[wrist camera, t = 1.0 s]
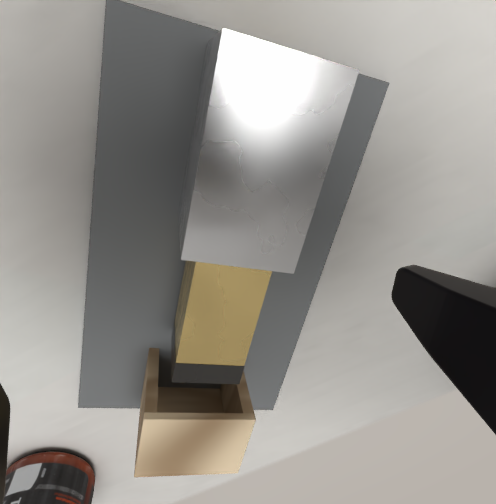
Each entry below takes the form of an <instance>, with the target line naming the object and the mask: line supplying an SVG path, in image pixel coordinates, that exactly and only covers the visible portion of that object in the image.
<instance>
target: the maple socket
mask: <svg viewBox="0 0 496 504" xmlns="http://www.w3.org/2000/svg"><path fill="white" fill-rule="evenodd" d="M158 373H159V348H149V352H148V358H147V365H146V371H145V377H144V384H143V390H142V396H141V405H140V416H139V427H138V439H137V450H136V461H135V473H134V477H152V476H178V475H204V474H229V473H238V471H239V468H240V465H241V462H242V459H243V456H244V453H245V450H246V448H247V445H248V442H249V439H250V436H251V433H252V430H253V427H254V424H255V421H256V418H255V414H254V411H253V407H252V403H251V399H250V395H249V391H248V387H247V383H246V379H245V375H244V371H243V374H242V377H241V380H240V384H221V387H220V389H214V388H177V387H158Z"/></svg>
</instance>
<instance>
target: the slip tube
mask: <svg viewBox="0 0 496 504" xmlns="http://www.w3.org/2000/svg"><path fill="white" fill-rule="evenodd" d="M271 274H272V271H267V270H259V269H251V268H243V267H235V266H227V265H219V264H211V263H203V262H194V261H186V263H185V268H184V274H183V279H182V284H181V290H180V295H179V300H178V306H177V311H176V317H175V320H174V325H173V330H172V336H171V376H172V382H177V383H209V384H240V380H241V377H242V374H243V370H244V367H245V366H244V365H245V362H246V358H247V355H248V351H249V348H250V345H251V341H252V338H253V335H254V331H255V328H256V324H257V321H258V318H259V314H260V311H261V307H262V304H263V301H264V297H265V294H266V291H267V287H268V284H269V280H270V277H271Z"/></svg>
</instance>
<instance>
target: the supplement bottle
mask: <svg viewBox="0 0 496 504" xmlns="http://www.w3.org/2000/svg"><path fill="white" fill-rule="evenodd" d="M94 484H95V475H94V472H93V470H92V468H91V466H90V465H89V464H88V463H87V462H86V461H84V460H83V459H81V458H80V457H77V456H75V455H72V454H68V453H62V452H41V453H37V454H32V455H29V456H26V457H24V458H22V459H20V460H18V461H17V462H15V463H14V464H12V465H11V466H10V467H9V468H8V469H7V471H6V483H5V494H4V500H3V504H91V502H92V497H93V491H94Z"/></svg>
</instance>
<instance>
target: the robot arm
mask: <svg viewBox="0 0 496 504" xmlns="http://www.w3.org/2000/svg"><path fill="white" fill-rule="evenodd" d="M392 300H393V303H394V304H395V306H396V307H397V309H398V310H399V312H400V313H401V315H402V316H403V318H404V319H405V321H406V322H407V323H408V325H409V326H410V328H411V329H412V331H413V332H414V334H415V335H416V337H417V338H418V340H419V341H420V342H421V344H422V345H423V347H424V348H425V349H426V351H427V352H428V353H429V355H430V356H431V357H432V358H433V360H434V361H435V362H436V363H437V365H438V366H439V367H440V368H441V369H442V371H443V372H444V373H445V374H446V375H447V377H448V378H449V379H450V380H451V381H452V383H453V384H454V385H455V386H456V387H457V389H458V390H459V391H460V392H461V393H462V394H463V396H464V397H465V398H466V399H467V401H468V402H469V403H470V404H471V405H472V407H473V408H474V409H475V410H476V411H477V413H478V414H479V415H480V416H481V418H482V419H483V420H484V421H485V422H486V423H487V425H488V426H489V427H490V428H491V429H492V431H493V432H494V433H495V434H496V288H493V287H489V286H486V285H482V284H479V283H475V282H472V281H469V280H465V279H462V278H458V277H455V276H451V275H448V274H444V273H441V272H438V271H434V270H431V269H427V268H424V267H420V266H417V265H410V266H406V267H402V268H400V269H399V270H398V271H397V273H396V277H395V281H394V285H393V290H392ZM9 422H10V403H9V399H8V397H7V395H6V393H5V391H4V389H3V388H2V386H1V384H0V504H3V500H4V494H5V483H6V469H7V454H8V438H9Z"/></svg>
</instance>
